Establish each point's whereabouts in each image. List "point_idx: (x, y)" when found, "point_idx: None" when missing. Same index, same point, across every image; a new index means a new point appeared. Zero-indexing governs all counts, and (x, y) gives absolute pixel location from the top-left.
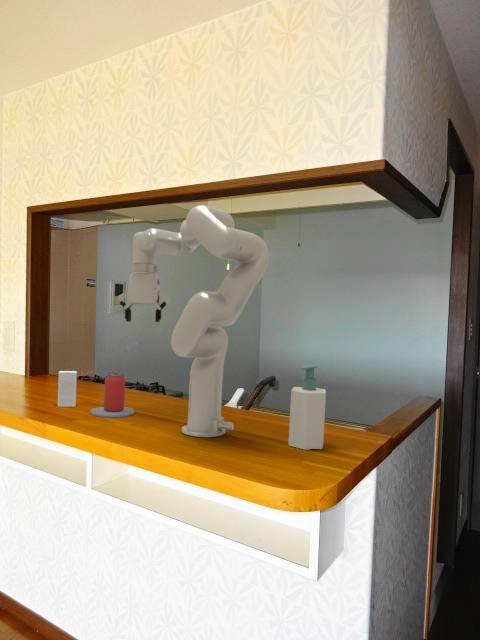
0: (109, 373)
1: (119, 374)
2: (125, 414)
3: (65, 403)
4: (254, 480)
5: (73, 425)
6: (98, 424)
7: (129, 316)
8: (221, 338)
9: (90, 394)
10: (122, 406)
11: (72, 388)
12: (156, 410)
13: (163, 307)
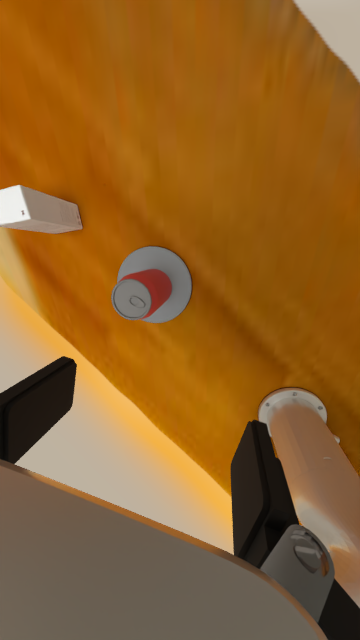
0: (115, 288)
1: (139, 284)
2: (177, 315)
3: (63, 231)
4: None
5: (113, 365)
6: (143, 361)
7: (52, 411)
8: None
9: (74, 39)
10: (168, 297)
11: (52, 225)
12: (236, 252)
13: (338, 609)
